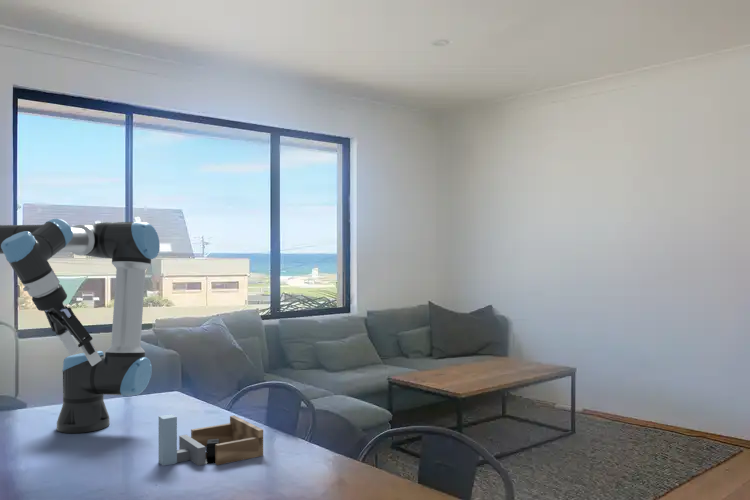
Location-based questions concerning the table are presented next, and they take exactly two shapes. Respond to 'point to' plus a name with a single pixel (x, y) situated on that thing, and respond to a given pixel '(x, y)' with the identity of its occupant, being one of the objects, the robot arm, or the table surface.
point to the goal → (232, 440)
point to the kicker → (168, 444)
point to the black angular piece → (211, 451)
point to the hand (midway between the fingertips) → (85, 357)
